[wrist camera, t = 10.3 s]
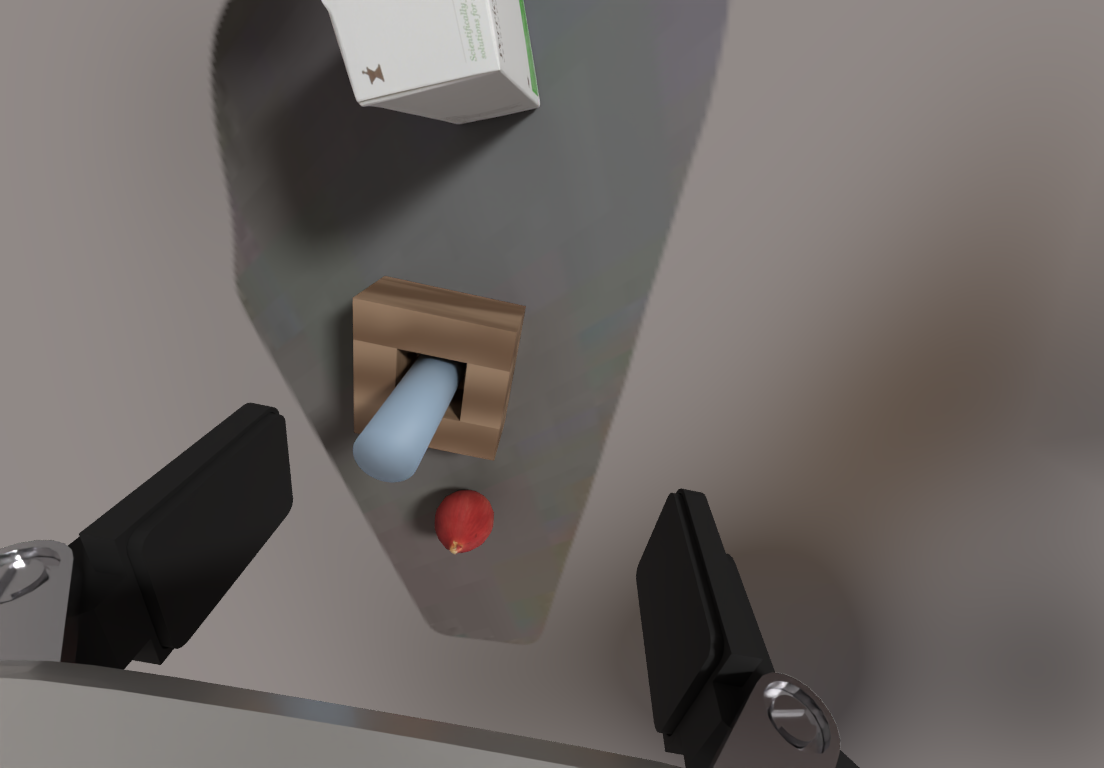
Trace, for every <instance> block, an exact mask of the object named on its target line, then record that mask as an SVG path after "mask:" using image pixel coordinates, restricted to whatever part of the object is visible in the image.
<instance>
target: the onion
mask: <svg viewBox="0 0 1104 768" xmlns="http://www.w3.org/2000/svg"><path fill="white" fill-rule="evenodd" d="M493 519H494V512H493V510H492V507H491V505H490V502H489V501H488V500H487V499H486V498H485V497H484V496H483V495H482V494H480V493H478V492H476V491H472V490H460V491H456V492H454V493H452V494H450V495H448V496H446V497H445V498H444V500H443V501H442V502H441V504H440V505H439V507H438V508H437V511H436V515H435V531H436V534H437V536H438V539H439V540H440V541H441V543H442V544H443V545H444V546H445V548H446V549H448V550H450V551H451V552H452V553H453V554H456V553H464V552H468V551H471V550H473V549H475V548H476V547H478V546H480V545H481V544H483V543H484V542H485V540H486V539H487V537H488V536H489V534H490V533H491V531H492V527H493Z"/></svg>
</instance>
